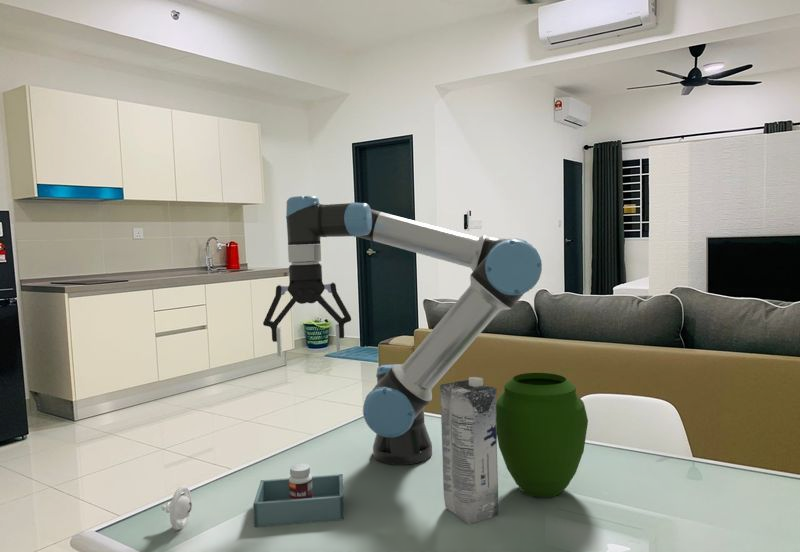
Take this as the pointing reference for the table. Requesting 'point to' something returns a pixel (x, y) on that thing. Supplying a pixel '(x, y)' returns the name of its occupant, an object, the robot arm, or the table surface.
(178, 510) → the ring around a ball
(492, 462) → the juice carton
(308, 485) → the pill bottle
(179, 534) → the table surface
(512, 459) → the vase
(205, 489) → the table surface
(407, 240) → the robot arm
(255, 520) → the bin
